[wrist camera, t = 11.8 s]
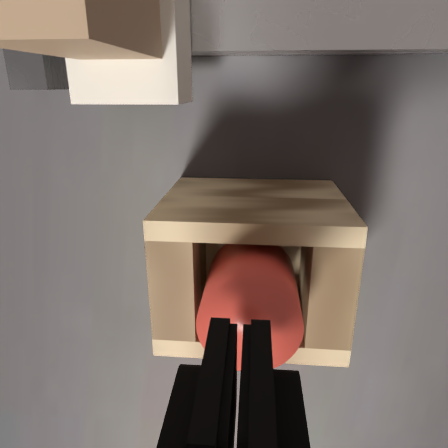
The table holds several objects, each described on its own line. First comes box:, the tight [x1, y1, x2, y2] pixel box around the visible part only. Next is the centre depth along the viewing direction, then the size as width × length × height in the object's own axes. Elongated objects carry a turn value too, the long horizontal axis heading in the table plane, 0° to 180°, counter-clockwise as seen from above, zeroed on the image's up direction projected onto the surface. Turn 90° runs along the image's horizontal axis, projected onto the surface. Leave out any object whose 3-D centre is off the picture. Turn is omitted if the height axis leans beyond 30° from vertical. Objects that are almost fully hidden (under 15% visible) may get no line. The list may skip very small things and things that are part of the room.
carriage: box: [0, 0, 192, 104], centre depth 11 cm, size 4×6×9 cm, turn 0°
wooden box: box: [143, 177, 368, 367], centre depth 18 cm, size 8×6×7 cm
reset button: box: [196, 244, 304, 371], centre depth 14 cm, size 4×4×4 cm
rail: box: [3, 0, 448, 90], centre depth 15 cm, size 21×5×5 cm, turn 90°
